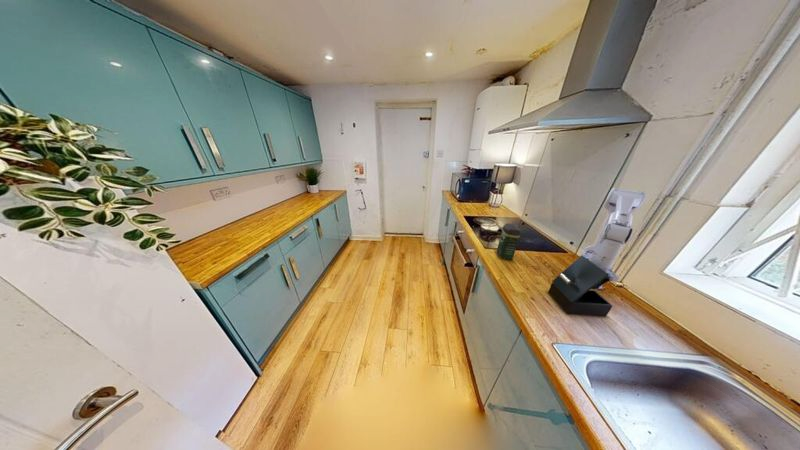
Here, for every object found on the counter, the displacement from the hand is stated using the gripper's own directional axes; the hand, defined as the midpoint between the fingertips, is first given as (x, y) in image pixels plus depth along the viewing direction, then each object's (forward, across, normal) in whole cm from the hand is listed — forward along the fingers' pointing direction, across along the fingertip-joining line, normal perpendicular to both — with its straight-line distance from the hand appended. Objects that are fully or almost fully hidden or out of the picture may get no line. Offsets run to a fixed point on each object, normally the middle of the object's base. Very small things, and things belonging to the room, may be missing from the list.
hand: (588, 283), depth 78 cm
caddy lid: (-4, +3, -8) cm, 9 cm away
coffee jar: (+9, -31, -18) cm, 37 cm away
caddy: (+8, +2, -4) cm, 10 cm away
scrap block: (+1, 0, 0) cm, 1 cm away
